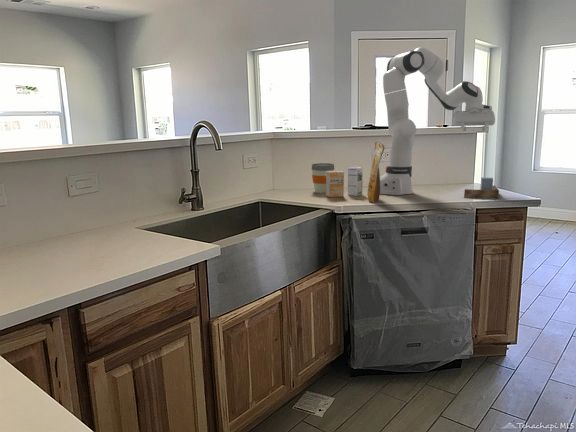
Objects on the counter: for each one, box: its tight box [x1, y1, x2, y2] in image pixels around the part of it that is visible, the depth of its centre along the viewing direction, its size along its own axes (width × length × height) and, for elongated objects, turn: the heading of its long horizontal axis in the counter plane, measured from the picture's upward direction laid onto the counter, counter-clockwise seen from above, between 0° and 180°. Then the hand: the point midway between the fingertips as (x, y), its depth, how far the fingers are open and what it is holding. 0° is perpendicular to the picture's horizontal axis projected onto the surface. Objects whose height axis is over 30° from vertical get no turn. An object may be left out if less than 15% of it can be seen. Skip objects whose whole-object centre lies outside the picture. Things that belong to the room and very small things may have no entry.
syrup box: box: [347, 166, 363, 197], centre depth 238 cm, size 6×6×14 cm
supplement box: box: [325, 170, 345, 198], centre depth 234 cm, size 8×5×13 cm, turn 105°
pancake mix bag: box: [367, 141, 385, 203], centre depth 221 cm, size 7×19×28 cm, turn 173°
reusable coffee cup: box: [311, 162, 335, 194], centre depth 250 cm, size 12×13×15 cm
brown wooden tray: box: [463, 185, 500, 200], centre depth 231 cm, size 16×17×4 cm
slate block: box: [479, 177, 494, 190], centre depth 227 cm, size 5×5×9 cm
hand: (474, 130), depth 239 cm, fingers open, 8 cm apart
